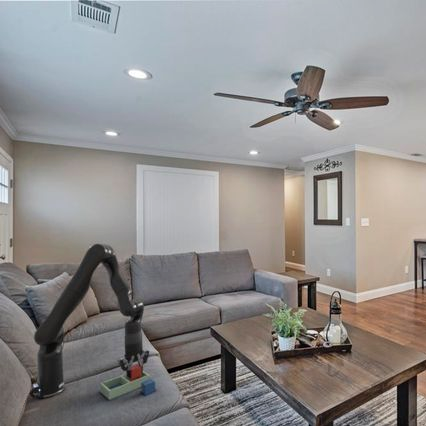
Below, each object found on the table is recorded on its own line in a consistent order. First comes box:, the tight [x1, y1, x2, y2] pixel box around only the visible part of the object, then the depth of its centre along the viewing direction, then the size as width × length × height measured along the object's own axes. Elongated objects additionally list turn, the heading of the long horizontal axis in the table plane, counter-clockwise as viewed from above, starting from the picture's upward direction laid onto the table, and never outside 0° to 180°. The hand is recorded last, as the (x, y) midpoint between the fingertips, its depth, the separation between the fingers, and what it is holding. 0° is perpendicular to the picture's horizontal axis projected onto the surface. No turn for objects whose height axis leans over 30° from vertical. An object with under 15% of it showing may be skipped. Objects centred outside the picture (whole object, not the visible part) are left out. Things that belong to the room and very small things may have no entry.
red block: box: [130, 363, 141, 379], centre depth 159 cm, size 4×4×4 cm
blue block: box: [140, 378, 156, 396], centre depth 151 cm, size 4×4×4 cm
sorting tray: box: [99, 370, 151, 401], centre depth 156 cm, size 18×12×4 cm, turn 141°
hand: (134, 375), depth 159 cm, fingers closed on red block, 4 cm apart
